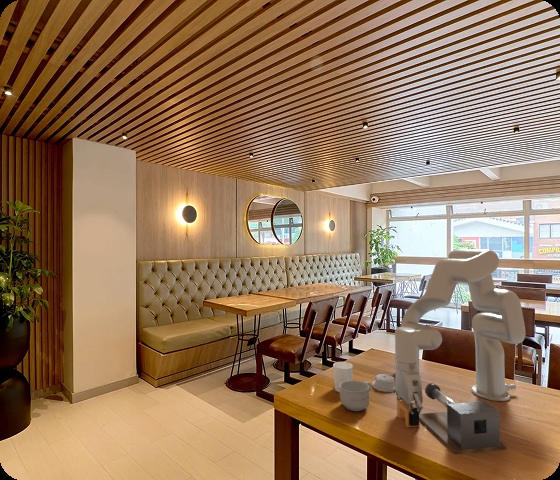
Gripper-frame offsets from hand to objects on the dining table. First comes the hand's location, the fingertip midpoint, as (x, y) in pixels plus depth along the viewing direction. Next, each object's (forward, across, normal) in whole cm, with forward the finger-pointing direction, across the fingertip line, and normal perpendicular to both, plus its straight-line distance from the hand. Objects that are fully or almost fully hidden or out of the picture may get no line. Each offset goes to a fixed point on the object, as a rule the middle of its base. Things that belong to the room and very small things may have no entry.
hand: (407, 418), depth 108 cm
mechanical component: (+1, +26, -4) cm, 26 cm away
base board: (+1, -8, -12) cm, 15 cm away
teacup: (+1, +12, +13) cm, 18 cm away
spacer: (+1, 0, 0) cm, 1 cm away
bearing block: (0, -15, -12) cm, 19 cm away
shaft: (-4, -3, -12) cm, 13 cm away
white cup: (+1, +26, +14) cm, 30 cm away
